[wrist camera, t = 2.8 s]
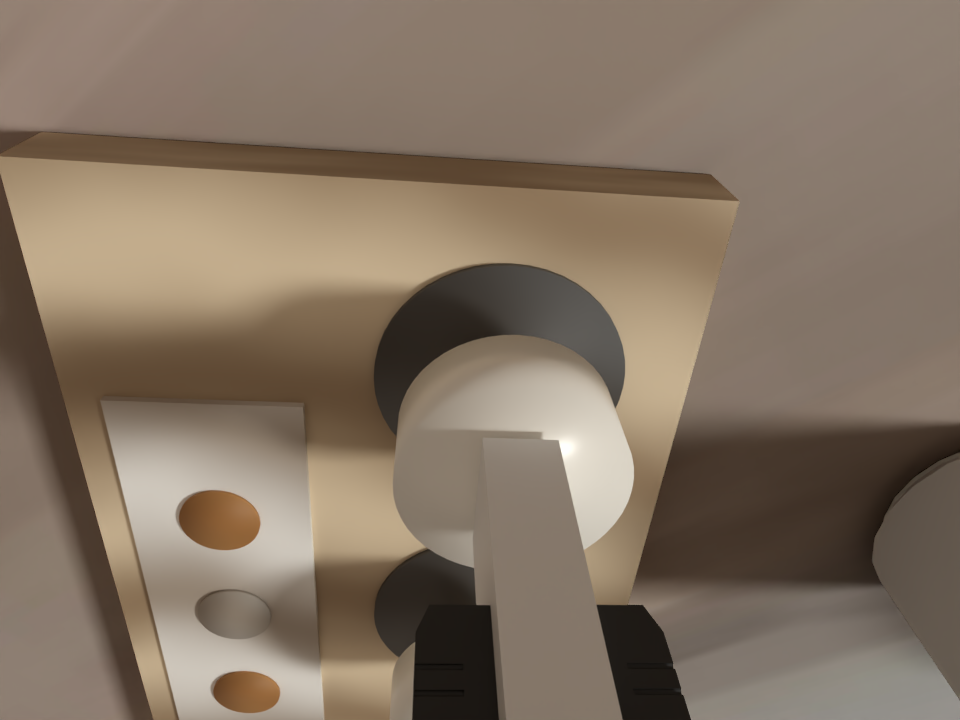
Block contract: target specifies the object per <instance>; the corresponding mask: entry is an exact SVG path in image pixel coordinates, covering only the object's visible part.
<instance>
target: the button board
mask: <svg viewBox="0 0 960 720" xmlns="http://www.w3.org/2000/svg"><path fill="white" fill-rule="evenodd" d="M0 174H1V178H2V182H3V185H4V189H5V192H6V196H7V199H8V203H9V207H10V210H11V214H12V217H13V221H14V224H15V228H16V232H17V235H18V239H19V242H20V246H21V249H22V253H23V257H24V260H25V264H26V267H27V271H28V274H29V278H30V282H31V285H32V289H33V292H34V296H35V299H36V303H37V306H38V310H39V314H40V317H41V321H42V324H43V328H44V331H45V335H46V339H47V342H48V346H49V349H50V353H51V356H52V360H53V364H54V367H55V371H56V374H57V378H58V381H59V385H60V389H61V392H62V396H63V399H64V403H65V406H66V410H67V414H68V417H69V421H70V424H71V428H72V431H73V435H74V439H75V442H76V446H77V449H78V453H79V456H80V460H81V464H82V467H83V471H84V474H85V478H86V481H87V485H88V489H89V492H90V496H91V499H92V503H93V506H94V510H95V514H96V517H97V521H98V524H99V528H100V531H101V535H102V539H103V542H104V546H105V549H106V553H107V556H108V560H109V564H110V567H111V571H112V574H113V578H114V581H115V585H116V589H117V592H118V596H119V599H120V603H121V606H122V610H123V613H124V617H125V621H126V624H127V628H128V631H129V635H130V638H131V642H132V646H133V649H134V653H135V656H136V660H137V663H138V667H139V671H140V674H141V678H142V681H143V685H144V688H145V692H146V696H147V699H148V703H149V706H150V710H151V713H152V717H153V720H390V704H391V688H392V675H393V670H394V667H395V664H396V662H397V660H398V659H399V657H400V656H401V655H402V653H403V652H404V651H405V650H406V649H407V648H408V647H409V646H410V645H411V644H413V643H414V642H415V634H416V630H417V628H418V626H419V624H420V622H421V620H422V618H423V616H424V614H425V612H426V610H427V608H428V606H429V604H431V605H476V593H475V574H474V568H472V567H468V566H465V565H461V564H458V563H455V562H453V561H450V560H448V559H446V558H444V557H442V556H440V555H438V554H436V553H434V552H433V551H431V550H430V549H428V548H427V547H425V546H424V545H423V544H422V543H421V542H420V541H418V540H417V539H416V538H415V537H414V536H413V535H412V533H411V532H410V531H409V530H408V529H407V527H406V526H405V524H404V523H403V521H402V519H401V517H400V515H399V513H398V510H397V508H396V504H395V500H394V496H393V474H394V462H395V450H396V438H397V427H398V417H399V411H400V407H401V404H402V401H403V399H404V396H405V394H406V392H407V390H408V388H409V387H410V385H411V384H412V382H413V381H414V379H415V378H416V377H417V376H418V375H419V373H420V372H421V371H422V370H423V369H424V368H425V367H426V366H428V365H429V364H430V363H431V362H432V361H433V360H435V359H436V358H438V357H439V356H441V355H442V354H444V353H445V352H447V351H449V350H451V349H453V348H455V347H457V346H459V345H462V344H464V343H467V342H470V341H473V340H477V339H481V338H485V337H491V336H499V335H524V336H533V337H538V338H542V339H547V340H550V341H552V342H555V343H558V344H561V345H563V346H565V347H567V348H569V349H571V350H573V351H574V352H576V353H577V354H579V355H580V356H581V357H583V358H584V359H585V360H586V361H588V362H589V363H590V364H591V365H592V366H593V367H594V368H595V369H596V371H597V372H598V373H599V374H600V376H601V377H602V379H603V381H604V382H605V384H606V386H607V388H608V390H609V393H610V396H611V399H612V401H613V404H614V407H615V410H616V412H617V415H618V418H619V421H620V424H621V426H622V429H623V432H624V435H625V437H626V440H627V443H628V446H629V448H630V451H631V454H632V459H633V464H634V481H633V487H632V492H631V495H630V498H629V501H628V503H627V505H626V507H625V509H624V511H623V513H622V514H621V516H620V517H619V519H618V520H617V521H616V523H615V524H614V525H613V526H612V527H611V528H610V530H609V531H608V532H607V533H606V534H605V535H603V536H602V537H601V538H600V539H599V540H598V541H596V542H595V543H594V544H592V545H591V546H589V547H588V548H586V549H585V550H584V553H585V557H586V562H587V566H588V570H589V575H590V579H591V584H592V588H593V592H594V597H595V601H596V605H628V602H629V599H630V595H631V591H632V588H633V584H634V580H635V577H636V573H637V570H638V566H639V562H640V559H641V555H642V552H643V548H644V544H645V541H646V537H647V534H648V530H649V526H650V523H651V519H652V516H653V512H654V508H655V505H656V501H657V498H658V494H659V490H660V487H661V483H662V480H663V476H664V472H665V469H666V465H667V462H668V458H669V454H670V451H671V447H672V444H673V440H674V436H675V433H676V429H677V426H678V422H679V418H680V415H681V411H682V407H683V404H684V400H685V397H686V393H687V389H688V386H689V382H690V379H691V375H692V371H693V368H694V364H695V361H696V357H697V353H698V350H699V346H700V343H701V339H702V335H703V332H704V328H705V325H706V321H707V317H708V314H709V310H710V307H711V303H712V299H713V296H714V292H715V289H716V285H717V281H718V278H719V274H720V271H721V267H722V263H723V260H724V256H725V253H726V249H727V245H728V242H729V238H730V234H731V231H732V227H733V224H734V220H735V216H736V213H737V209H738V206H739V202H740V201H739V200H738V199H737V198H736V197H734V196H733V195H732V194H731V193H730V192H729V191H728V190H727V189H726V188H725V187H724V186H723V185H722V184H720V183H719V182H718V181H717V180H716V179H715V178H714V177H713V176H712V175H709V174H693V173H678V172H662V171H646V170H630V169H615V168H599V167H583V166H568V165H552V164H536V163H521V162H505V161H489V160H474V159H458V158H442V157H426V156H411V155H395V154H379V153H364V152H348V151H332V150H317V149H301V148H285V147H270V146H254V145H238V144H222V143H207V142H191V141H175V140H160V139H144V138H128V137H113V136H97V135H81V134H66V133H50V132H41V133H39V134H37V135H35V136H33V137H31V138H29V139H27V140H25V141H23V142H21V143H19V144H18V145H16V146H14V147H12V148H10V149H8V150H6V151H4V152H2V153H0Z"/></svg>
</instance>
